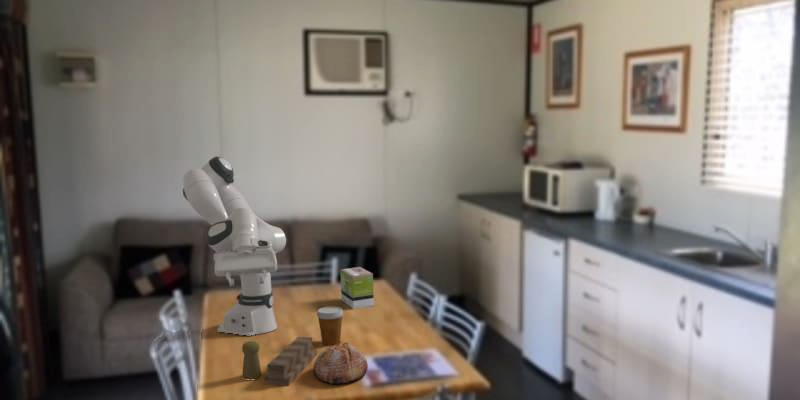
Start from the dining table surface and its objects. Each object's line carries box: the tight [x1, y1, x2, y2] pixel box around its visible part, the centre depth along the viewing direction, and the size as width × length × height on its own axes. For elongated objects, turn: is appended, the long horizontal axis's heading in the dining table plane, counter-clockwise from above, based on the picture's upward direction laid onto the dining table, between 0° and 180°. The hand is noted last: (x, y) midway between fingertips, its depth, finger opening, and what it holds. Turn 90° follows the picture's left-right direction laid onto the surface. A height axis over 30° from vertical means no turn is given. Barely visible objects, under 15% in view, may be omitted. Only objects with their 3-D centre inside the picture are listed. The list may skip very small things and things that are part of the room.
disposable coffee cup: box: [316, 306, 344, 346], centre depth 229 cm, size 10×10×12 cm
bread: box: [313, 340, 369, 385], centre depth 200 cm, size 16×20×10 cm
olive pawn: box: [241, 340, 263, 381], centre depth 199 cm, size 6×6×11 cm
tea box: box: [339, 266, 375, 310], centre depth 280 cm, size 15×10×15 cm
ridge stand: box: [263, 336, 318, 386], centre depth 205 cm, size 26×8×6 cm, turn 169°
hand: (246, 283), depth 209 cm, fingers open, 8 cm apart
